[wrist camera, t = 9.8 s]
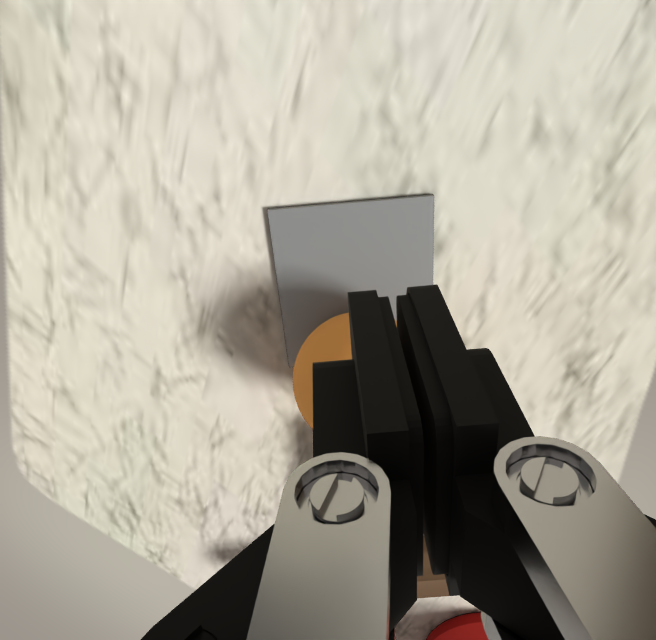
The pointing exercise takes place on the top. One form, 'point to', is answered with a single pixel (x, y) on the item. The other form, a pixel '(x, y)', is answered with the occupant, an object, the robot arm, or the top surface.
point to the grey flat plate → (347, 257)
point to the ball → (320, 358)
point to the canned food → (460, 629)
